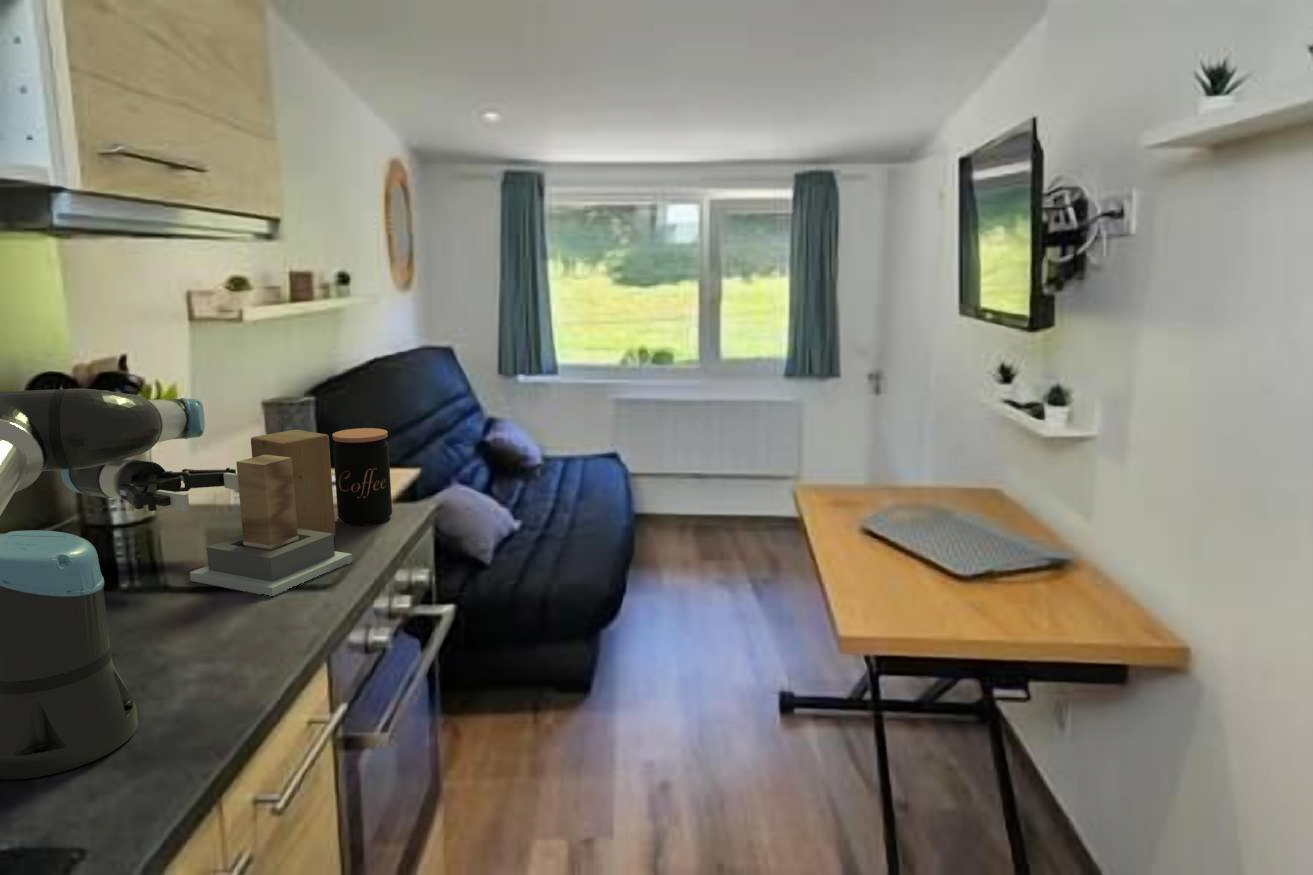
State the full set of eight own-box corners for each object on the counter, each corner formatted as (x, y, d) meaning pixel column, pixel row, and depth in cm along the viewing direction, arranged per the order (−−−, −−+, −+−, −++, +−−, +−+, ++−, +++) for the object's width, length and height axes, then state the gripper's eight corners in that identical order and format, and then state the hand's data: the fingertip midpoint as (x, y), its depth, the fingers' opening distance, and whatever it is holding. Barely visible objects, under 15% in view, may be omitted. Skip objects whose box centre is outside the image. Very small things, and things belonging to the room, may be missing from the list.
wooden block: (290, 550, 164) (282, 443, 160) (258, 540, 170) (249, 437, 166) (336, 536, 172) (329, 434, 169) (304, 527, 178) (296, 428, 174)
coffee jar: (333, 527, 178) (327, 438, 174) (343, 513, 188) (337, 428, 185) (389, 525, 180) (383, 437, 176) (395, 510, 190) (391, 427, 186)
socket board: (272, 596, 142) (270, 563, 141) (190, 580, 149) (187, 548, 147) (352, 562, 158) (350, 532, 157) (274, 549, 165) (272, 520, 164)
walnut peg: (272, 570, 149) (263, 465, 145) (245, 565, 151) (235, 461, 148) (300, 559, 154) (292, 457, 151) (273, 555, 157) (264, 454, 153)
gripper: (195, 485, 175) (278, 496, 167) (70, 518, 152) (158, 533, 144) (192, 447, 173) (275, 457, 165) (64, 475, 151) (153, 488, 143)
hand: (221, 492), depth 155 cm, fingers open, 13 cm apart
